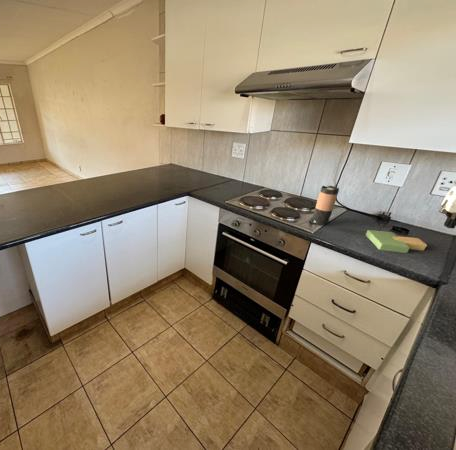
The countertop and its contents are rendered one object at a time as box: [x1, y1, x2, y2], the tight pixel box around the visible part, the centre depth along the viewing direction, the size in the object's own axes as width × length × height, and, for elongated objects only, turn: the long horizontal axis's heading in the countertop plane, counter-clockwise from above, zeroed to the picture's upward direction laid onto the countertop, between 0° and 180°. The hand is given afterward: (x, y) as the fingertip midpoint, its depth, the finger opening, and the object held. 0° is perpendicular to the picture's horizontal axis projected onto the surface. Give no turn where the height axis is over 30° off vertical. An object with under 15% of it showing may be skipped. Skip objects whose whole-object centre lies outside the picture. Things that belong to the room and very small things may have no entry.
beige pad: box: [392, 235, 428, 252], centre depth 111 cm, size 11×6×3 cm, turn 73°
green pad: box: [365, 229, 410, 254], centre depth 113 cm, size 10×14×3 cm
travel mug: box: [312, 185, 340, 227], centre depth 129 cm, size 8×8×20 cm
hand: (448, 227), depth 103 cm, fingers closed
